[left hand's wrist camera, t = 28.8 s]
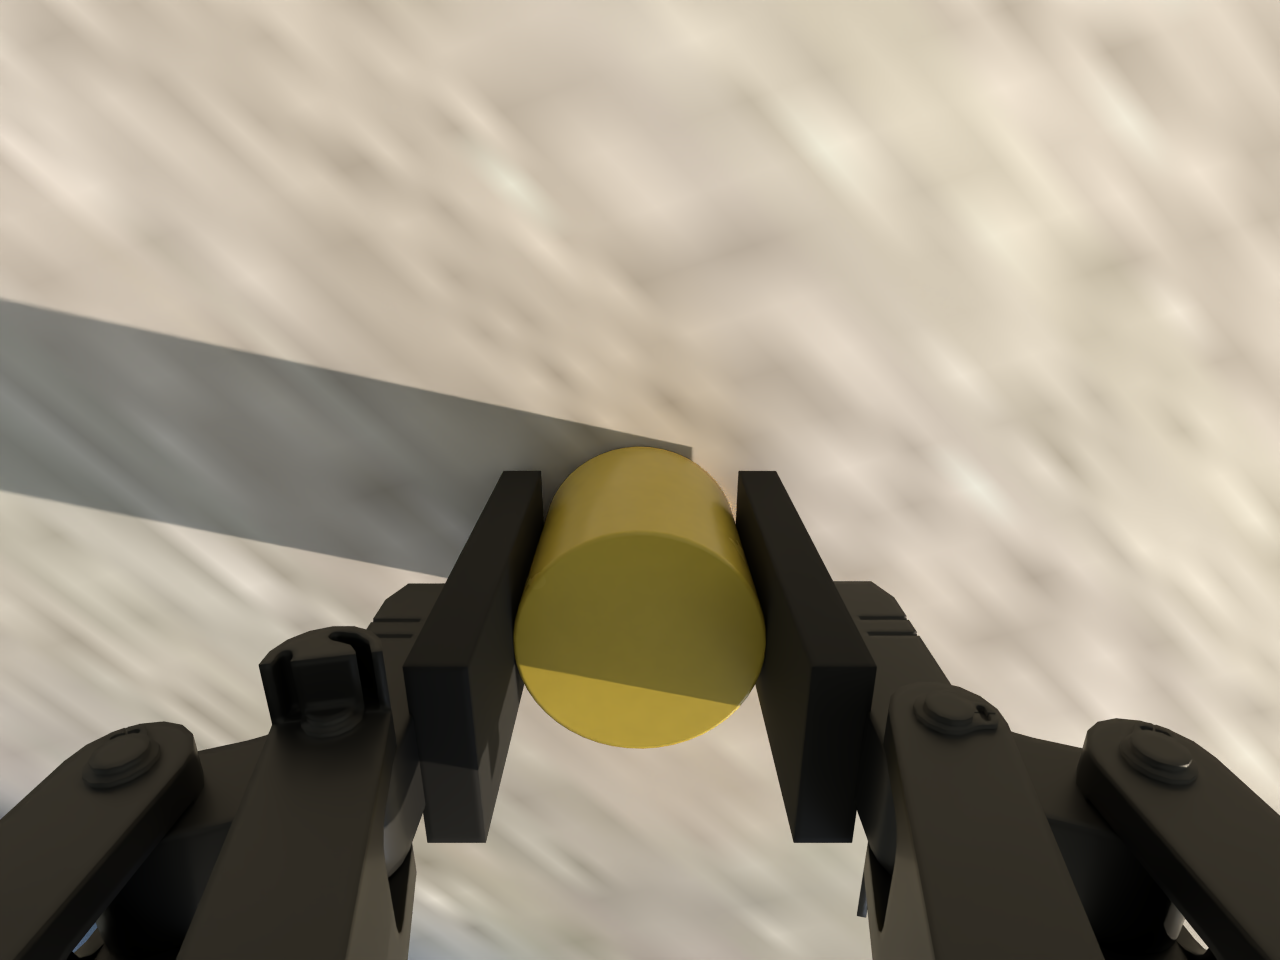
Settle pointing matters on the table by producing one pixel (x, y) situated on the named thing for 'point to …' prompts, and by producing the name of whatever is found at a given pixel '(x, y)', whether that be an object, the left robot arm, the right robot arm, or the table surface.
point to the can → (639, 604)
